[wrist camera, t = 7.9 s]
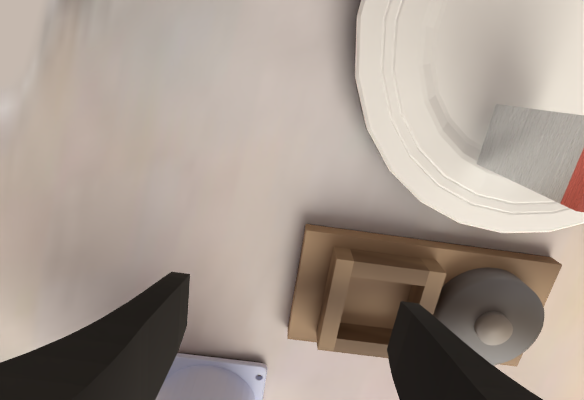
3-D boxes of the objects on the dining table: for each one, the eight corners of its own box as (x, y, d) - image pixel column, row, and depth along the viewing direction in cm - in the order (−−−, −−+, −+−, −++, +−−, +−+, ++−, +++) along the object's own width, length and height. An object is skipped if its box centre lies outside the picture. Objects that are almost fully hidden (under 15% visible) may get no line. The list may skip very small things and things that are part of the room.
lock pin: (532, 172, 20) (661, 224, 13) (476, 164, 19) (576, 211, 13) (555, 113, 19) (709, 135, 12) (496, 104, 18) (616, 119, 12)
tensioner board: (508, 355, 26) (535, 390, 23) (287, 328, 25) (287, 361, 22) (551, 257, 23) (587, 282, 20) (305, 223, 22) (307, 245, 19)
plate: (389, -243, 15) (402, -285, 14) (841, -177, 16) (909, -209, 14) (324, 205, 22) (327, 216, 20) (644, 237, 23) (674, 251, 21)
